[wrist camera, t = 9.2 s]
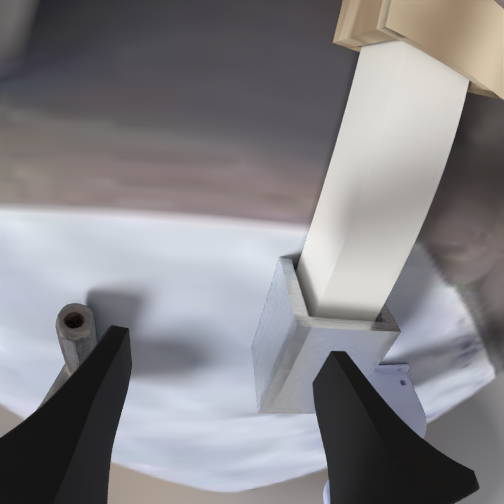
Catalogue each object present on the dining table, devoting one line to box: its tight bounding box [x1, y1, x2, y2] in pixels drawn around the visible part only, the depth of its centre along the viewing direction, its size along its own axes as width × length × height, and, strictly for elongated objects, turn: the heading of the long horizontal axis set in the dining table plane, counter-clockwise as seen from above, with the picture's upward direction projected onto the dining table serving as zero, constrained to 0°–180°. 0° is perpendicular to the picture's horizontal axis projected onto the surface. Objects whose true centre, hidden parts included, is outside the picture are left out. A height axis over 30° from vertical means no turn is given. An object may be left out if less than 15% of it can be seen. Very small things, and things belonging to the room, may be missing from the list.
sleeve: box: [252, 257, 401, 414], centre depth 21 cm, size 7×9×6 cm
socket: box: [333, 0, 504, 100], centre depth 10 cm, size 7×5×6 cm
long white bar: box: [295, 39, 469, 321], centre depth 15 cm, size 4×17×5 cm, turn 168°
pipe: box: [38, 303, 97, 408], centre depth 21 cm, size 6×13×8 cm, turn 163°
